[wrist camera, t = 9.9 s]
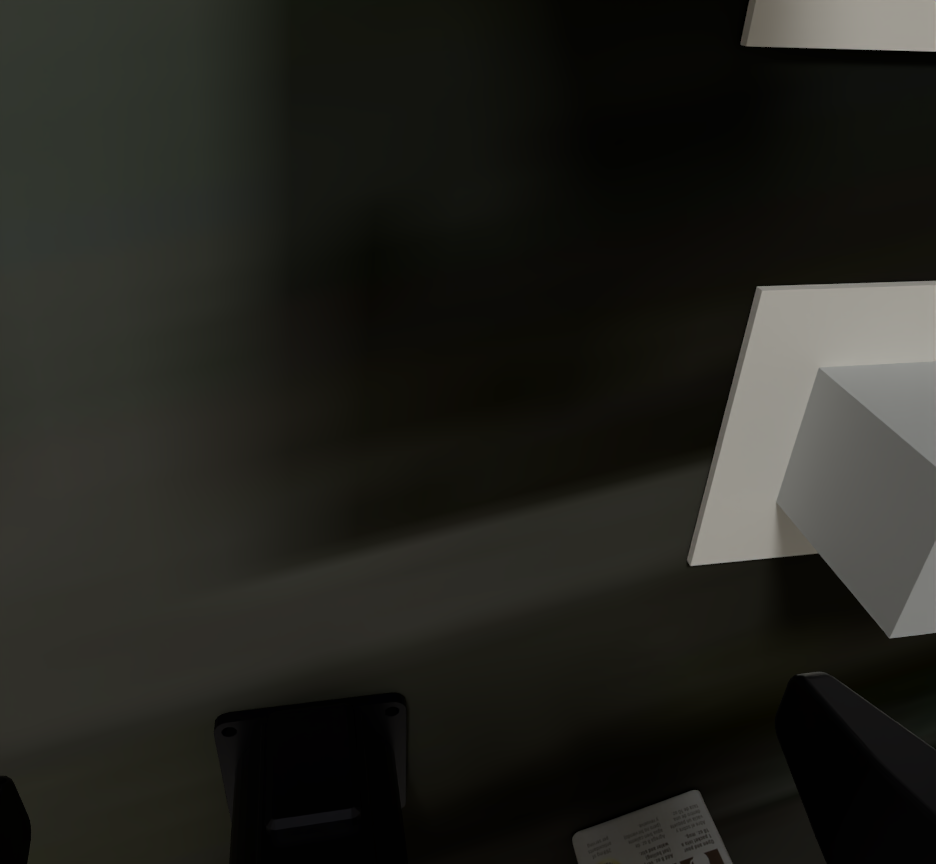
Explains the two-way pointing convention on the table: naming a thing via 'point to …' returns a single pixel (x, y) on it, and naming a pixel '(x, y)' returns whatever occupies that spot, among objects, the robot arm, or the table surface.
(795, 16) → the tile
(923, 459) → the grey block
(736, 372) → the plain tile
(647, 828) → the coffee box
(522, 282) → the table surface
